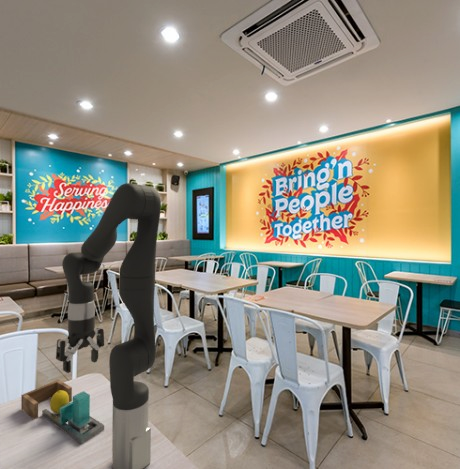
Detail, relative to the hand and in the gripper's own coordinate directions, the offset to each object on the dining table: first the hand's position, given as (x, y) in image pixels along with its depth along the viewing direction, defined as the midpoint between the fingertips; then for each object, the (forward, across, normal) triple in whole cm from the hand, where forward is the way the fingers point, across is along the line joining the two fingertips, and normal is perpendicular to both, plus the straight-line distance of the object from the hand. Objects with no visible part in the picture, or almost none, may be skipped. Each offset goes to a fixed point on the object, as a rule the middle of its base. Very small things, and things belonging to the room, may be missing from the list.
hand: (81, 366), depth 91 cm
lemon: (+20, 0, +13) cm, 24 cm away
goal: (+20, 0, +21) cm, 29 cm away
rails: (+20, 0, +6) cm, 21 cm away
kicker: (+20, 0, 0) cm, 20 cm away
